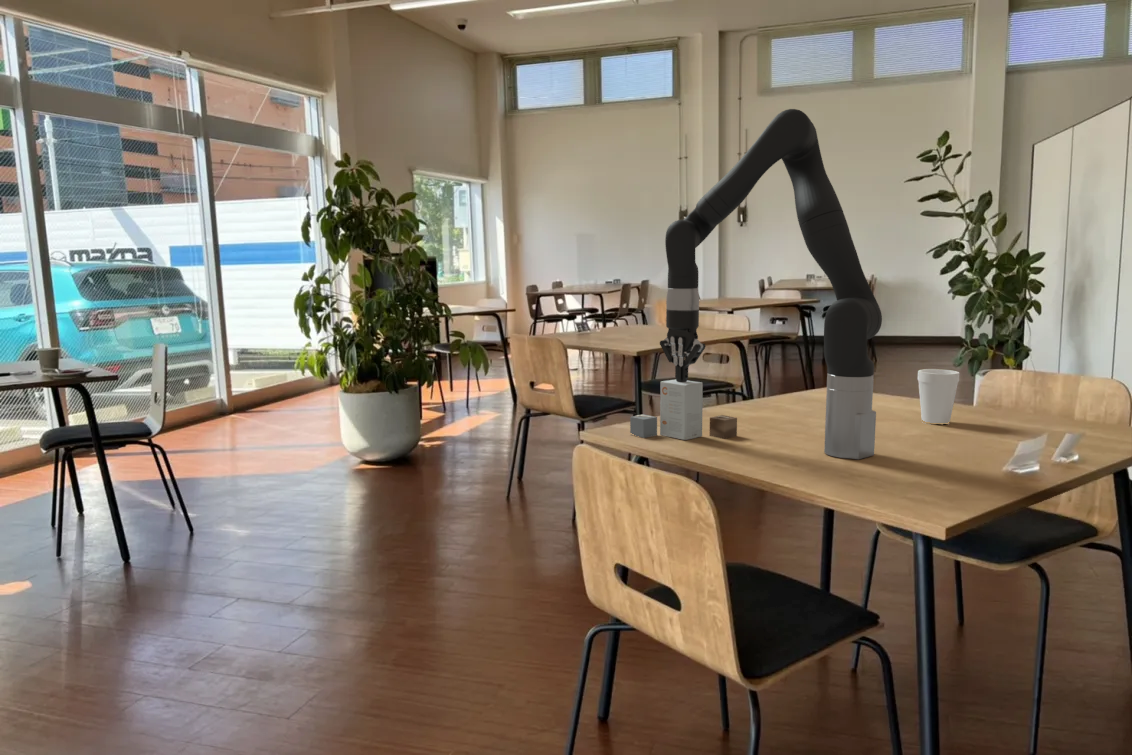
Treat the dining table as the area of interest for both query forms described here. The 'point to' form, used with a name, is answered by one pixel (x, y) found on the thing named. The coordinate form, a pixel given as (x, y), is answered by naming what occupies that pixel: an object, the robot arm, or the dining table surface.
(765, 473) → the dining table surface
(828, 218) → the robot arm
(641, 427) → the slate block seven
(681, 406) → the small box
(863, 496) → the dining table surface
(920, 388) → the foam cup
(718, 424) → the walnut block one
